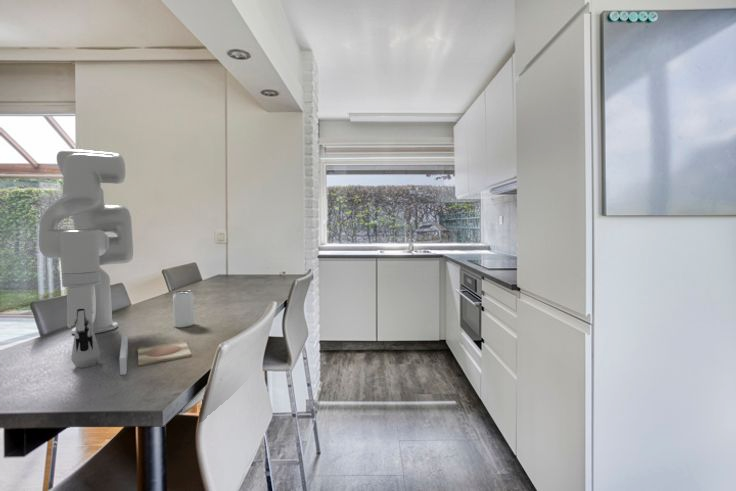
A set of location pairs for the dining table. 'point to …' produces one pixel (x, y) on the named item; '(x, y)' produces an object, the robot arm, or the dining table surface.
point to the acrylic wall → (123, 355)
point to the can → (183, 309)
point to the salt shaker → (85, 352)
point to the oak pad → (163, 352)
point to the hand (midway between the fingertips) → (85, 350)
